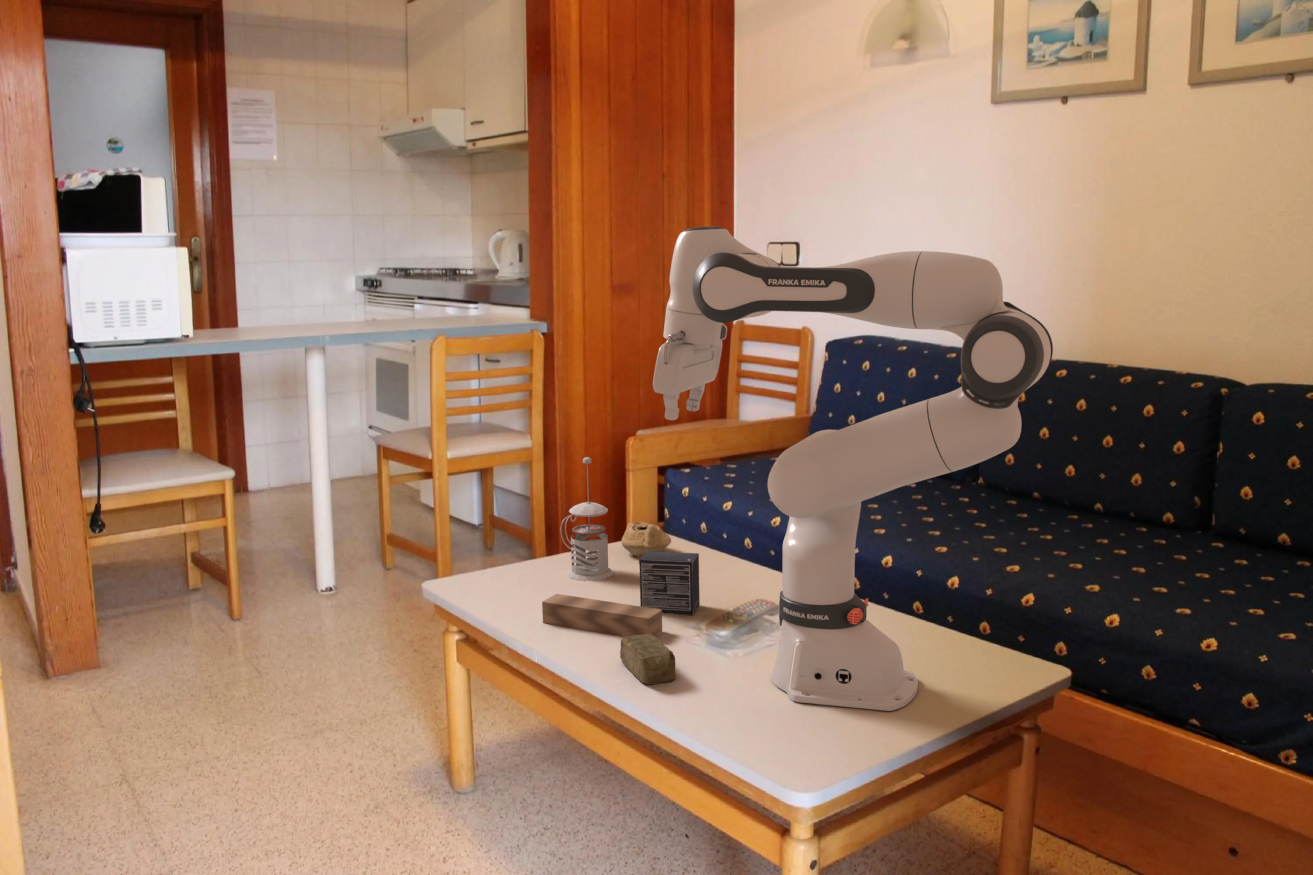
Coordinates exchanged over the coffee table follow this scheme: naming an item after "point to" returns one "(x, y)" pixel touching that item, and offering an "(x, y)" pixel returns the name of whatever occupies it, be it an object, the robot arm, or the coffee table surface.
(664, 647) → the stone block
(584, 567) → the french press
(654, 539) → the oil lamp
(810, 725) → the coffee table surface
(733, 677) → the coffee table surface
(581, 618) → the batten
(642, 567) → the small box
